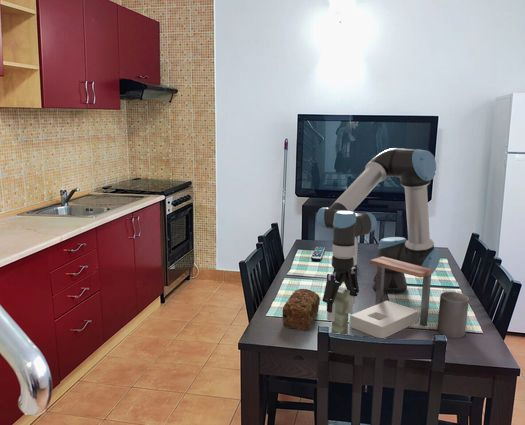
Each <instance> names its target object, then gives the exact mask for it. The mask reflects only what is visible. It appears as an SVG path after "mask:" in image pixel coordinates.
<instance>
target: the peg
mask: <svg viewBox="0 0 525 425" xmlns="http://www.w3.org/2000/svg"><path fill="white" fill-rule="evenodd" d="M349 293H350V290H347V288H343V287H339V289H338V292H337V294H336V297H335V300H334V302H333V303H335V318H334V322H332V321H331V333H332V334H334V333H340V334H344V335H347V334H348V333H349V332H348V331H349V314H350V313H349Z"/></svg>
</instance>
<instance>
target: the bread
mask: <svg viewBox="0 0 525 425" xmlns="http://www.w3.org/2000/svg"><path fill="white" fill-rule="evenodd" d="M287 299H288V300H287V301H286V302H285V303H284V305H283V307H282V314H281V315H282V326H283V327H285V328H289V329H298V330H301V331H309V330H310V327H312V325H313V323H314V321H315V320H316V318H317V316H318V313H319V309H320V304H321V302H320V300H321V299H320V296H319V294H318V293H316V292H315V291H313V290H311V289H307V288H298V289H296V290H294V291H293V292H292V294H291V295H290V297H289V298H287Z"/></svg>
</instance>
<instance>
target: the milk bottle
mask: <svg viewBox="0 0 525 425" xmlns="http://www.w3.org/2000/svg"><path fill="white" fill-rule="evenodd" d="M353 257H354V266H353V267H355V266H357V262H358V239H357V237H355V248H354V256H353Z"/></svg>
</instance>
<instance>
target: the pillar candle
mask: <svg viewBox="0 0 525 425" xmlns="http://www.w3.org/2000/svg"><path fill="white" fill-rule="evenodd" d="M469 301H470V298H469V296H467V295H466V294H463V293H461V292H456V291H446V292H445V291H444V292H442V293H441V294H440V297H439V307H438V317H437V325H436V326H437V327H436V331H437V333H438V334H439V335H441V334H443V335H445V336H444V337H446V336H447V337H446V338H451V339H461V338H464V336H465V335H466V330H467V322H468V321H467V320H468V311H469V310H468V309H469V303H470V302H469ZM443 335H442V336H443Z"/></svg>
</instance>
